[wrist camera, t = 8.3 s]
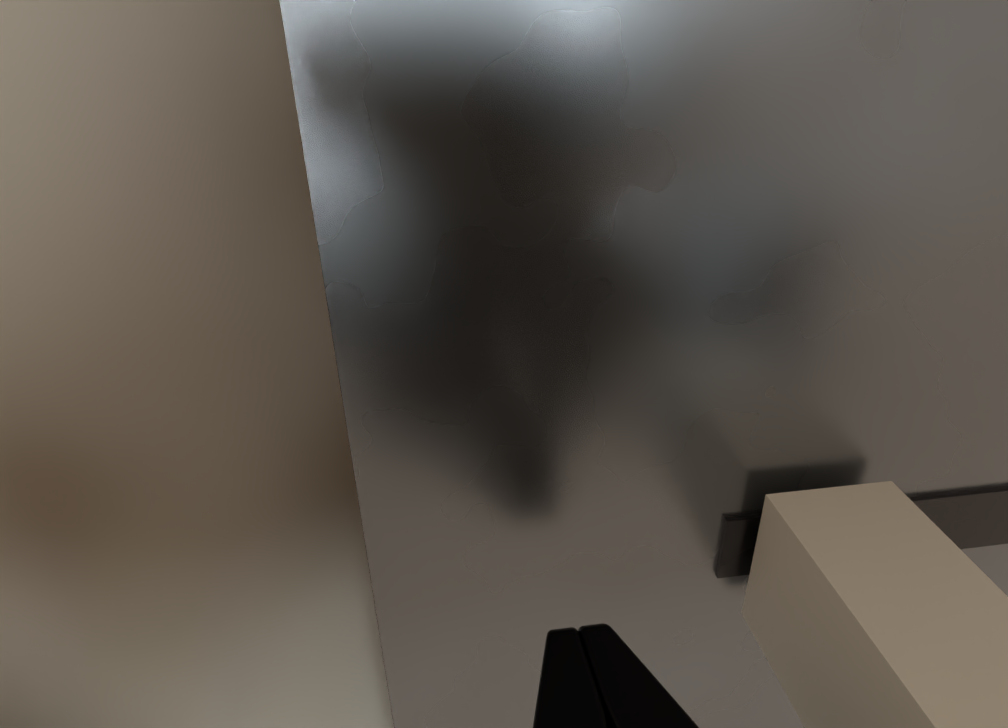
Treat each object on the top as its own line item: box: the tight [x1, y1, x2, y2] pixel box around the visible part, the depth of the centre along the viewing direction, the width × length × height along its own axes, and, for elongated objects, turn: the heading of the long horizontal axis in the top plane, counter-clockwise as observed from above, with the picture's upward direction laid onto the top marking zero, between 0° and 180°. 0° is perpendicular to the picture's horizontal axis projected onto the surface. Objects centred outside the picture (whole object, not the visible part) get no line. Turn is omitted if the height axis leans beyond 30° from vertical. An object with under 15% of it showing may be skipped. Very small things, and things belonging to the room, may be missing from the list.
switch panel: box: [279, 0, 1008, 728], centre depth 12 cm, size 22×26×2 cm
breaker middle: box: [742, 481, 1008, 728], centre depth 9 cm, size 2×2×4 cm
